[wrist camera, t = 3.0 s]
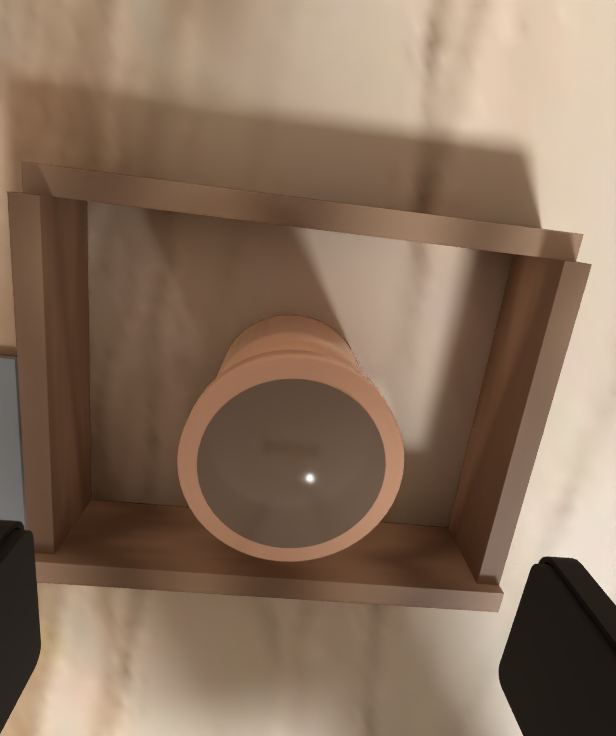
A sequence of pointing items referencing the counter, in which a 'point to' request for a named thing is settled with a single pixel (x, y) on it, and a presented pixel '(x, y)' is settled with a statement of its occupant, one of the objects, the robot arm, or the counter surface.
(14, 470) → the mat
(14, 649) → the robot arm
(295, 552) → the terracotta pot
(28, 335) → the wooden tray
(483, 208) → the counter surface
